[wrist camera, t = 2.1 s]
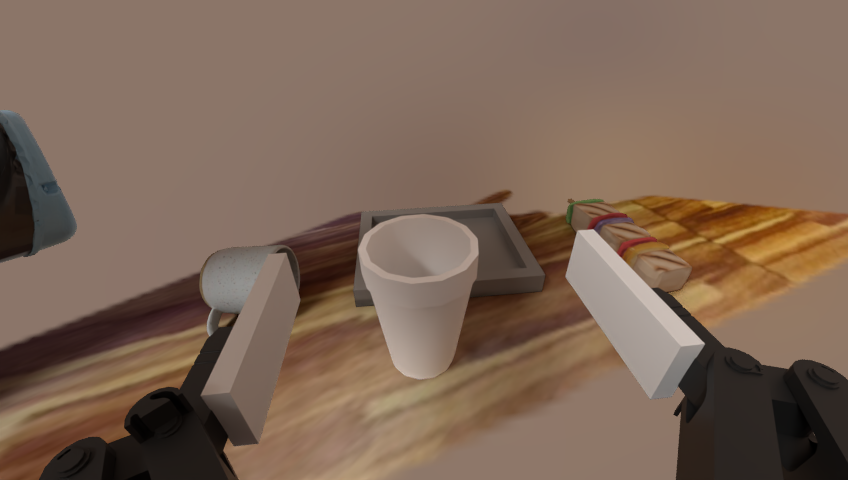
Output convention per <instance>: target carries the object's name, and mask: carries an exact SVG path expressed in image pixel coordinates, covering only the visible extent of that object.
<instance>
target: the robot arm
mask: <svg viewBox="0 0 848 480" xmlns="http://www.w3.org/2000/svg"><path fill="white" fill-rule="evenodd" d="M76 229H77V224H76V221H75V218H74V216H73V214H72V211H71V209H70V207H69V205H68V203H67V201H66V199H65V197H64V195H63V193H62V191H61V189H60V187H59V186H58V184H57V181H56V180H55V177H54V175H53V174H52V171H51V169H50V167H49V165H48V163H47V161H46V159H45V157H44V155H43V153H42V151H41V149H40V148H39V146H38V144H37V142H36V140H35V138H34V137H33V135H32V133H31V131H30V129H29V128H28V126H27V124H26V122H25V121H24V119H23V118H22V117H21V116H20V115H19V114H18V113H15V112H12V111H9V110H0V263H2V262H5V261H9V260H12V259H15V258H18V257H22V256H23V257H28V256H32V255H35V254H36V253H37V252H38V251H40V250H42V249H45V248H48V247H51V246H54V245H56V244H59V243H62V242H65V241H67V240H68V239H70V238H71V237H72V236H73V235H74V234H75V232H76ZM566 278H567V280H568V281H569V283H570V284H571V286H572V287H573V289H574V290H575V291H576V293H577V294H578V296H579V297H580V299H581V300H582V302H583V303H584V304H585V306H586V307H587V309H588V310H589V312H590V313H591V315H592V316H593V318H594V319H595V320H596V322H597V323H598V325H599V326H600V328H601V329H602V331H603V332H604V333H605V335H606V336H607V338H608V339H609V341H610V342H611V344H612V345H613V346H614V348H615V349H616V351H617V352H618V354H619V355H620V357H621V358H622V359H623V361H624V362H625V364H626V365H627V367H628V368H629V370H630V371H631V372H632V374H633V375H634V377H635V378H636V380H637V381H638V383H639V384H640V385H641V387H642V388H643V389H644V391H645V393H646V394H647V396H648V397H649V398H650V399H659V398H668V397H672V395H673V394H674V392H675V391H676V389H677V387H679V388H680V389H681V390H682V392H683V393H684V394H685V397H684V398H683V400H682V401H681V403H680V404H679V406H678V407H677V409H676V410H675V412H674V415H675V416H678V415H679V413H680V412H681V421H680V434H679V447H678V460H677V473H676V480H848V380H847V379H846V378H845V377H844V376H842V375H841V374H840V373H838V372H837V371H835V370H834V369H832V368H830V367H828V366H826V365H824V364H821V363H818V362H815V361H812V360H798V361H795V362H794V363H793V365H792V366H791V367H790V368H789V369H784V368H778V367H771V366H766V365H761V364H760V362H759V361H757V360H756V359H754V358H753V357H752V356H750V355H749V354H746V353H744V352H742V351H740V350H736V349H732V348H725V347H724V346H723V345H722V344H721V343H720V342H719V341H718V340H717V339H716V338H715V337H714V336H713V335H712V334H711V333H710V332H709V331H708V330H707V329H706V328H705V327H704V326H703V325H702V324H700V323H699V322H698V321H697V320H696V319H695V318H694V317H693V316H691V314H690V313H689V312H688V311H687V310H686V309H685V308H683V307H682V305H681V304H680V303H679V302H678V301H677V300H676V299H675V298H674V297H673V296H672V295H670V294H668V293H667V292H665V291H663V290H662V289H660V288H658V287H657V288H650V287H649V286H648V285H647V284H646V283H645V282H644V281H643V280H642V279H641V278H640V277H639V276H638V275H637V274H636V273H635V271H634V270H633V269H632V268H631V267H630V266H629V265H628V264H627V263H626V262H625V261H624V260H623V259H622V258H621V257H620V256H619V255H618V254H617V253H616V252H615V251H614V250H613V249H612V248H611V247H610V246H609V245H608V244H607V243H606V242H605V241H604V240H603V239H602V238H601V237H600V236H599V235H598V233H597V232H596V231H595V230H594V229H591V230H578V231H577V234H576V238H575V242H574V246H573V250H572V253H571V257H570V261H569V265H568V269H567V273H566ZM300 300H301V299H300V296H299V293H298V290H297V286H296V283H295V280H294V276H293V273H292V270H291V267H290V263H289V260H288V257H287V253H277V254H268V256H267V258H266V260H265V262H264V264H263V266H262V268H261V270H260V272H259V275H258V277H257V279H256V281H255V283H254V285H253V287H252V289H251V291H250V293H249V295H248V298H247V300H246V302H245V304H244V306H243V308H242V310H241V312H240V314H239V316H238V318H237V320H236V323H235V325H234V326H230V327H219V328H218V329H217V330H216V331H215V332H214V333H213V334H212V335H211V336H210V337H209V338H208V339H207V340H206V342H205V344H204V346H203V347H202V349H201V351H200V355H198V357H197V359H196V360H195V362H194V365H193V366H192V368H191V370H190V371H189V373H188V375H187V377H186V379H185V381H184V382H183V384H182V386H181V388H180V390H179V389H178V388H173V387H166V388H161V389H158V390H155V391H153V392H151V393H149V394H147V395H146V396H144V397H143V398H142V399H140V400H139V401H138V402H137V403H136V404H135V405H134V406H133V407H132V408H131V409H130V410H129V412H128V414H127V416H126V418H125V424H124V428H125V429H126V430H127V431H128V432H129V433H130V434H131V435H129V436H127V437H124V438H121V439H119V440H116V441H114V442H111V443H108V444H107V443H106V442H105V441H104V440H103V439H101V438H100V437H88V438H85V439H82V440H79V441H77V442H75V443H73V444H71V445H70V446H68V447H66V448H65V449H64V450H62V451H61V452H60V453H59V454H57V455H56V456H55V457H54V458H53V459H52V460H51V461H50V463H49V464H48V465H47V466H46V467H45V469H44V471H43V473H42V475H41V477H40V479H39V480H238V478H237V476H236V474H235V472H234V470H233V468H232V466H231V464H230V462H229V460H228V458H227V456H226V454H225V453H224V451H223V449H224V446H225V444H226V441H227V438H229V440H230V441H231V443H232V444H233V446H241V445H250V444H259V441H260V438H261V434H262V431H263V427H264V424H265V420H266V417H267V413H268V410H269V407H270V403H271V400H272V396H273V393H274V389H275V386H276V382H277V379H278V376H279V372H280V369H281V365H282V362H283V358H284V355H285V351H286V348H287V345H288V341H289V338H290V334H291V331H292V327H293V324H294V320H295V317H296V313H297V310H298V307H299V303H300ZM814 434H815V435H814Z"/></svg>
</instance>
